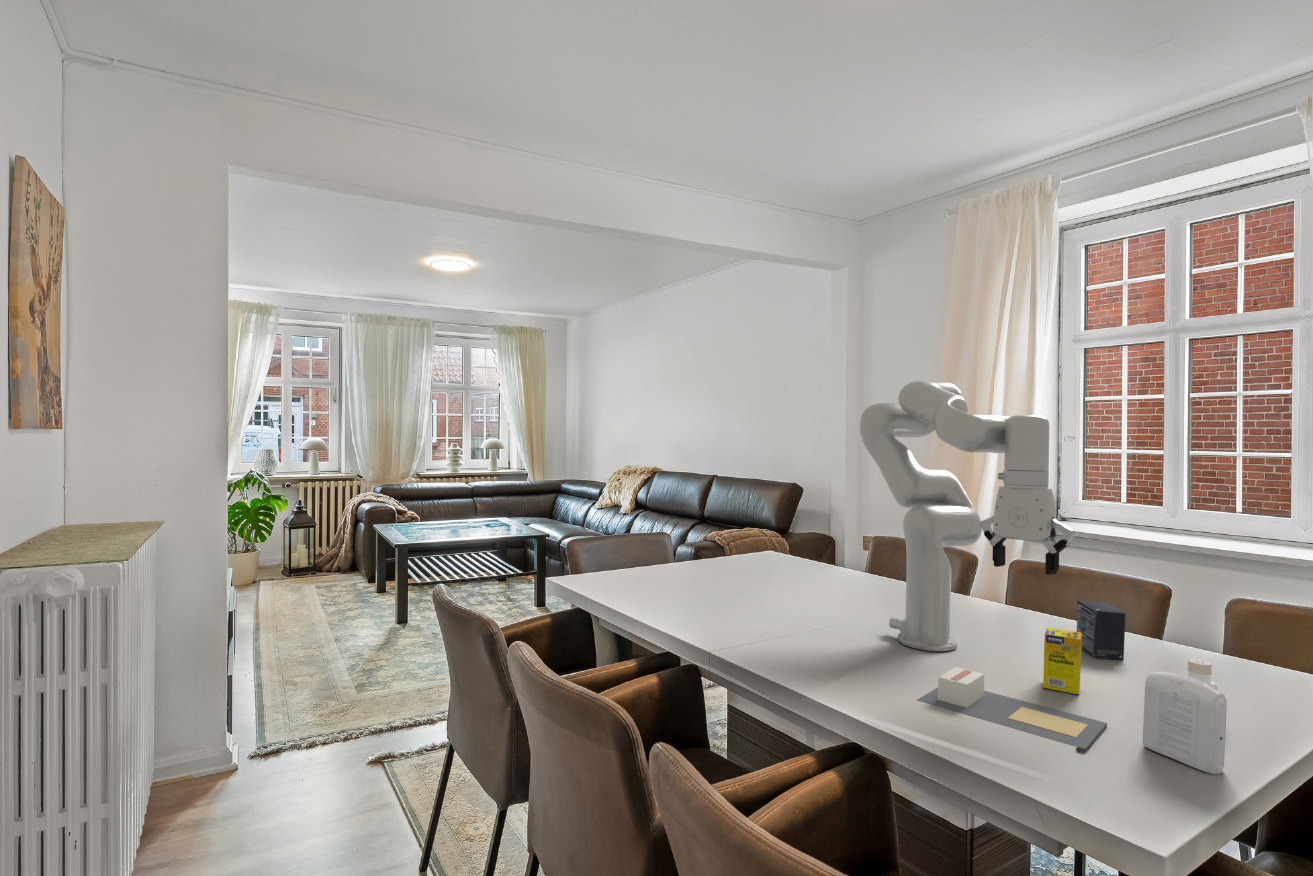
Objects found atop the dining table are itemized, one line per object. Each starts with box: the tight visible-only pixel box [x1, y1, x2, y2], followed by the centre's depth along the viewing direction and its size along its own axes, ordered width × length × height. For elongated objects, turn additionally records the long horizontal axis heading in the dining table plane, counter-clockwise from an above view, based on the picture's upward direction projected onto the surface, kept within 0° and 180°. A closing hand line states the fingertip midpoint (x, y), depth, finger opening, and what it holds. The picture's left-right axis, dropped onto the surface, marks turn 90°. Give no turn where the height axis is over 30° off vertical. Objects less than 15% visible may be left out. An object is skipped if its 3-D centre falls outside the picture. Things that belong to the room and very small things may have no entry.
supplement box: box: [1042, 627, 1083, 697], centre depth 132 cm, size 6×6×11 cm
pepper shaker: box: [1187, 658, 1218, 690], centre depth 121 cm, size 4×4×10 cm
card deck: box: [937, 666, 985, 708], centre depth 125 cm, size 5×8×4 cm, turn 136°
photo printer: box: [1142, 671, 1228, 775], centre depth 104 cm, size 10×4×12 cm, turn 24°
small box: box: [1076, 599, 1127, 661], centre depth 157 cm, size 11×6×10 cm, turn 168°
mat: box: [916, 687, 1108, 754], centre depth 120 cm, size 26×14×1 cm, turn 46°
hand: (1024, 569), depth 134 cm, fingers open, 9 cm apart
